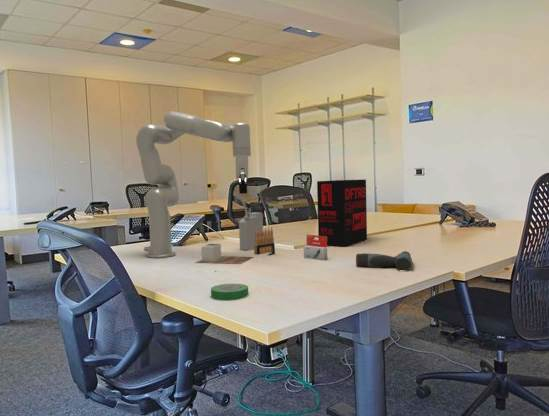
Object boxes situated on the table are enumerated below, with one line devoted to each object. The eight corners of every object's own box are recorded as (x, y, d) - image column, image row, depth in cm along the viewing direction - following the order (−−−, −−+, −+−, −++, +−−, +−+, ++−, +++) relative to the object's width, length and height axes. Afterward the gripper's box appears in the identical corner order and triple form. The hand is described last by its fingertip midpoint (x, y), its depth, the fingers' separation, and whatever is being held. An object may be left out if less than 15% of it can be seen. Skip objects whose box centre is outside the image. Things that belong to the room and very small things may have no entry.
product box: (342, 238, 248) (341, 180, 246) (367, 240, 240) (365, 179, 238) (318, 245, 226) (317, 181, 224) (344, 247, 218) (343, 180, 216)
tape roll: (220, 290, 142) (219, 282, 142) (253, 292, 139) (253, 283, 139) (204, 300, 132) (204, 291, 131) (240, 302, 128) (240, 292, 128)
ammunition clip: (257, 257, 198) (256, 230, 197) (254, 256, 200) (253, 229, 199) (275, 254, 205) (274, 227, 204) (272, 253, 207) (271, 227, 206)
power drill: (361, 260, 185) (413, 262, 178) (354, 270, 167) (411, 272, 161) (361, 247, 184) (413, 249, 178) (354, 255, 167) (411, 257, 160)
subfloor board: (194, 265, 183) (194, 262, 183) (211, 258, 198) (211, 255, 198) (240, 267, 177) (240, 263, 177) (254, 259, 192) (254, 256, 192)
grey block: (202, 261, 186) (201, 246, 186) (210, 257, 194) (209, 243, 193) (213, 261, 185) (212, 246, 184) (221, 257, 192) (220, 243, 192)
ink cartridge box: (324, 260, 186) (323, 236, 185) (303, 258, 193) (302, 235, 193) (328, 259, 188) (327, 236, 187) (307, 257, 195) (306, 234, 195)
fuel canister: (244, 251, 215) (242, 198, 213) (236, 250, 218) (234, 198, 216) (264, 246, 227) (262, 197, 225) (256, 246, 230) (254, 197, 228)
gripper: (233, 154, 200) (235, 192, 202) (232, 151, 183) (233, 194, 184) (250, 153, 201) (252, 192, 202) (250, 151, 184) (252, 193, 185)
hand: (243, 193), depth 193 cm, fingers open, 9 cm apart
